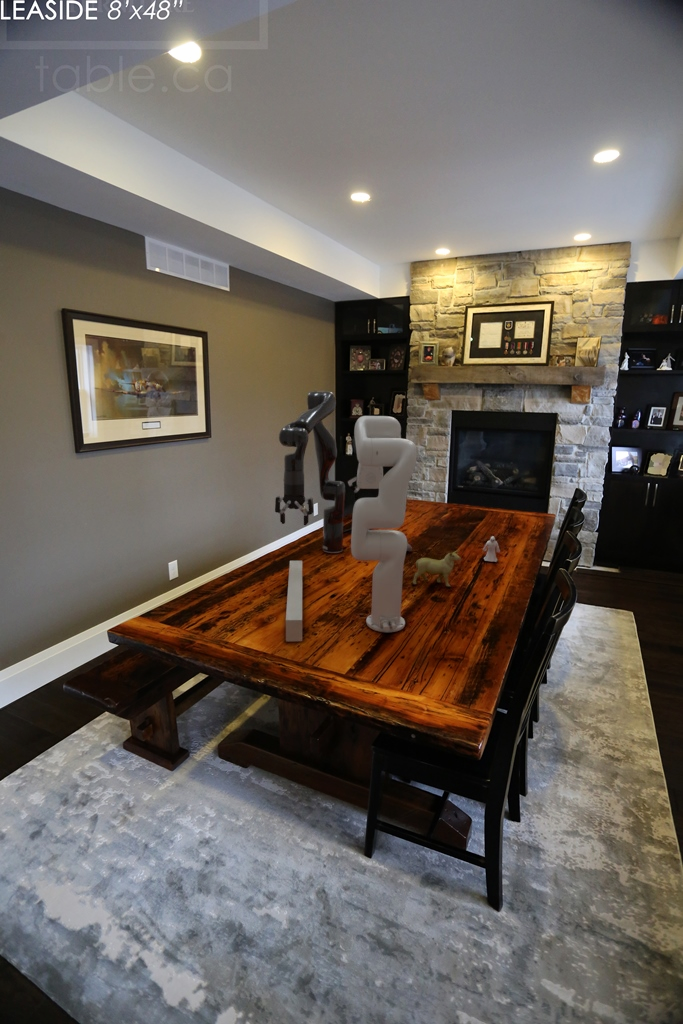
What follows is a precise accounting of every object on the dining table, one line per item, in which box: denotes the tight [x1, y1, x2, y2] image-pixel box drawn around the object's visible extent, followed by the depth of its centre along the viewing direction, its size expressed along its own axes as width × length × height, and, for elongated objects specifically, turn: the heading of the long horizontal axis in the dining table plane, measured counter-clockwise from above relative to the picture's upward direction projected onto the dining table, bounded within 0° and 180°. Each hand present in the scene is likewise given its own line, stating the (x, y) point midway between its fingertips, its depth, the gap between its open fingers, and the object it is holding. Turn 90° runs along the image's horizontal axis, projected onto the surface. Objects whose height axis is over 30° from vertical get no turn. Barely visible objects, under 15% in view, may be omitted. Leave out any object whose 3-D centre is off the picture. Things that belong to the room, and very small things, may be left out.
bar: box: [285, 560, 303, 643], centre depth 175 cm, size 52×5×7 cm, turn 4°
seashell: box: [406, 542, 413, 552], centre depth 233 cm, size 8×5×8 cm
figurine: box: [482, 535, 501, 563], centre depth 223 cm, size 8×8×12 cm
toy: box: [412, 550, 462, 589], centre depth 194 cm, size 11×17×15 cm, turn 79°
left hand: (294, 524), depth 189 cm, fingers open, 8 cm apart
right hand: (369, 502), depth 198 cm, fingers open, 9 cm apart
